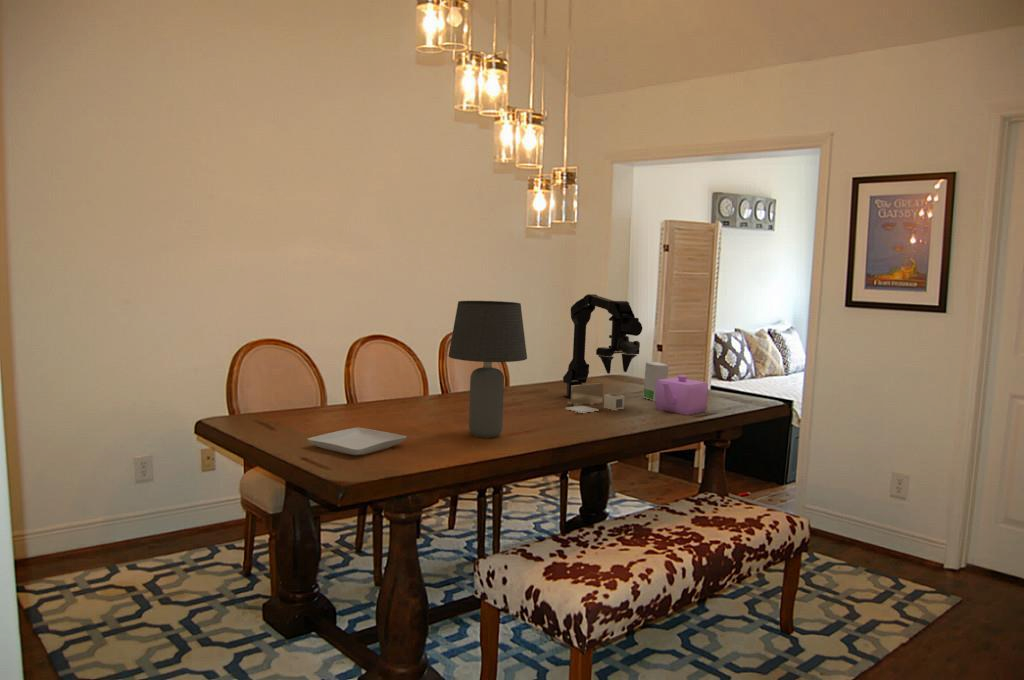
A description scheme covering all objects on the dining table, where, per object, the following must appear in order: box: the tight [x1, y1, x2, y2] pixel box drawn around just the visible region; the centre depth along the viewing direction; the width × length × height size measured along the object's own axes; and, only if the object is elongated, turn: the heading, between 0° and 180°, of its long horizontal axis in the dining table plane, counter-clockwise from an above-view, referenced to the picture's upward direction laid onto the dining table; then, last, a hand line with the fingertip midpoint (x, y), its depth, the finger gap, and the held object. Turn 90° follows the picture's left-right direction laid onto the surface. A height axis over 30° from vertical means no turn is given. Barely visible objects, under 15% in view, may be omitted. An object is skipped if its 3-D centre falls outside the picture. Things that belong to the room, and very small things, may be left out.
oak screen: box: [567, 382, 604, 407], centre depth 306 cm, size 5×16×8 cm, turn 127°
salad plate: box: [306, 427, 407, 456], centre depth 225 cm, size 21×21×3 cm
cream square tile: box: [565, 405, 600, 414], centre depth 293 cm, size 9×9×1 cm
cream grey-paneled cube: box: [603, 393, 625, 411], centre depth 298 cm, size 6×6×6 cm
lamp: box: [448, 300, 528, 439], centre depth 243 cm, size 25×25×43 cm
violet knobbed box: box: [654, 374, 709, 416], centre depth 299 cm, size 15×25×14 cm, turn 133°
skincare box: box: [642, 361, 669, 402], centre depth 322 cm, size 8×7×16 cm
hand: (616, 372), depth 298 cm, fingers open, 9 cm apart
